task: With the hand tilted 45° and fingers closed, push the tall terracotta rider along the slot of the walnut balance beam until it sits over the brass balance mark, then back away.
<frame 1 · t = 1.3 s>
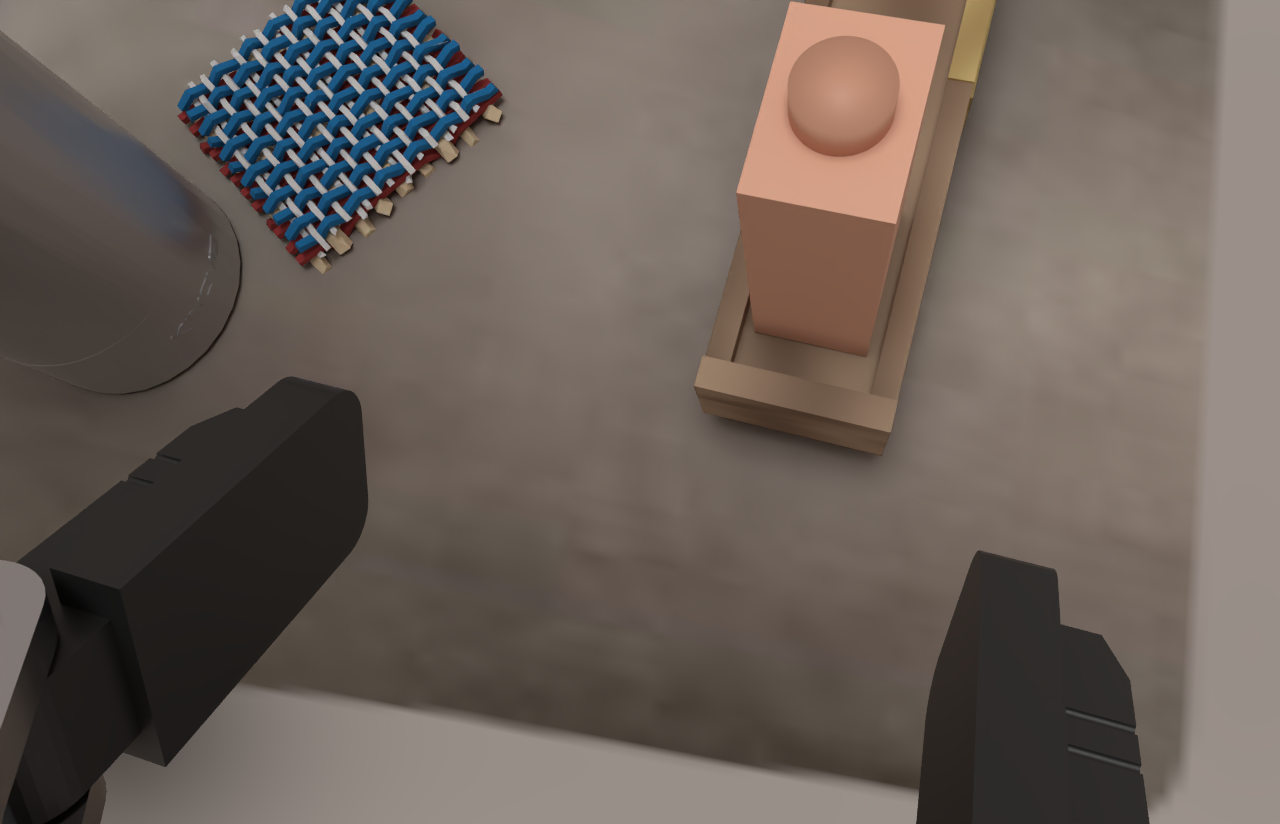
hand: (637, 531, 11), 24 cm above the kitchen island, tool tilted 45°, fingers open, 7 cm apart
beam: (894, 46, 39), on the kitchen island
woven mat: (349, 122, 43), on the kitchen island
rider: (834, 196, 28), point 10 cm above the kitchen island, slide at 0.0 cm
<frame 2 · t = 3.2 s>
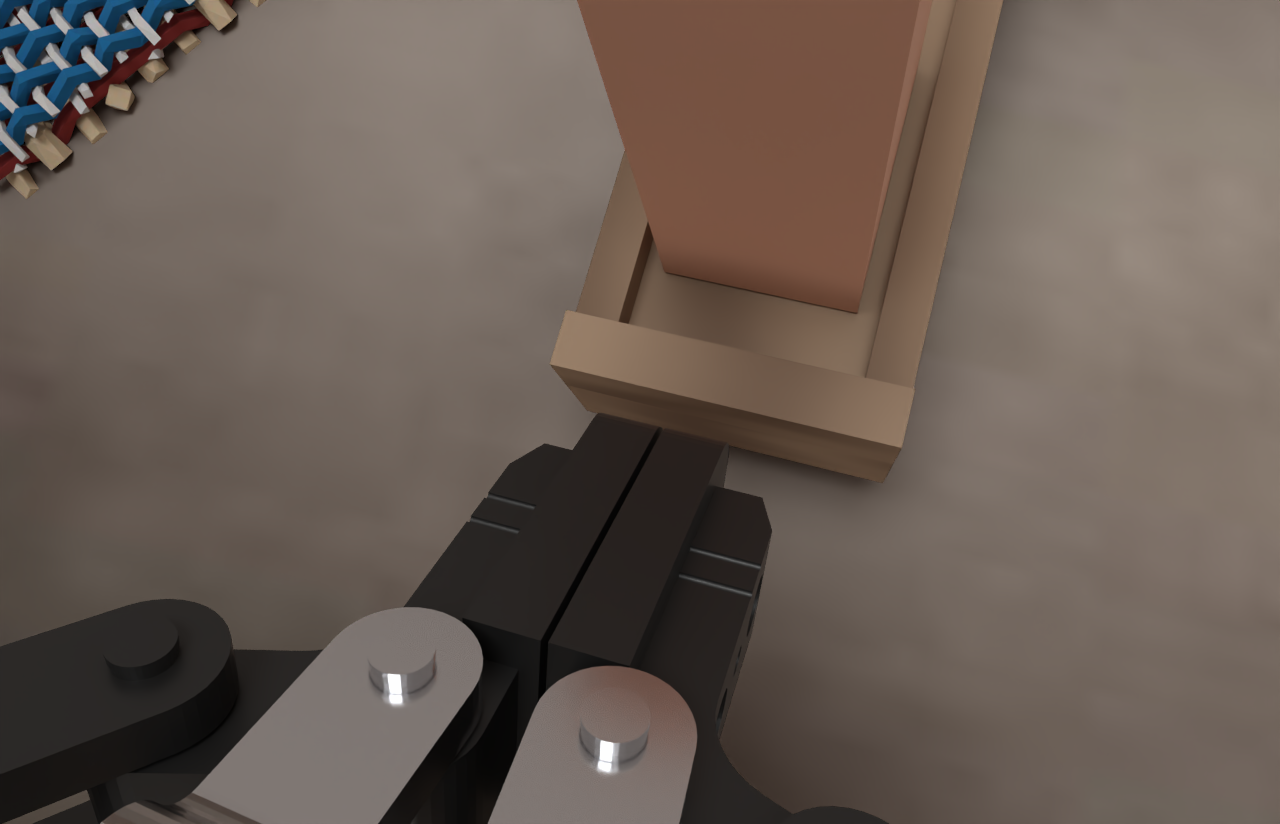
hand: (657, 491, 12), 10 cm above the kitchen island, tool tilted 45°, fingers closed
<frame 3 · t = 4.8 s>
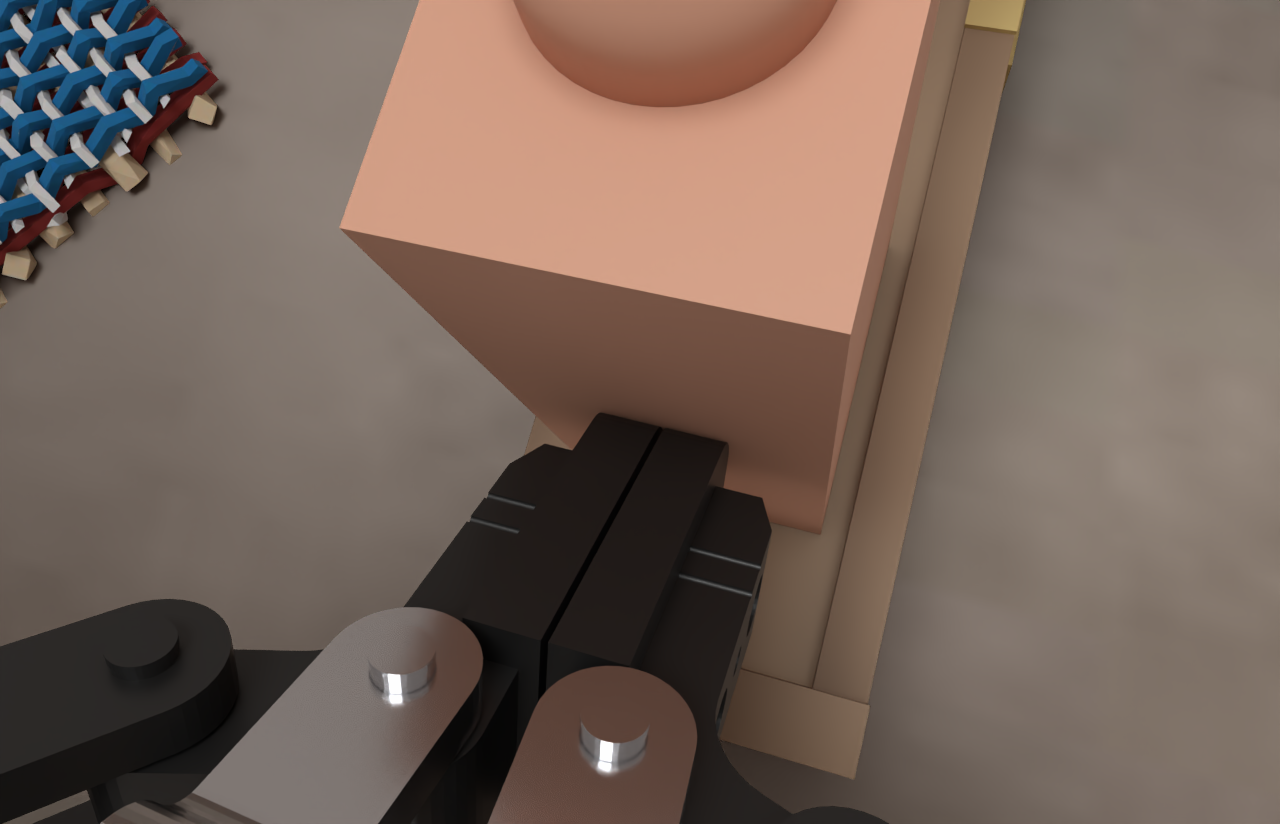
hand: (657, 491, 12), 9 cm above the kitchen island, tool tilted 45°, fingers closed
rider: (723, 221, 12), point 10 cm above the kitchen island, slide at 0.8 cm, touching gripper
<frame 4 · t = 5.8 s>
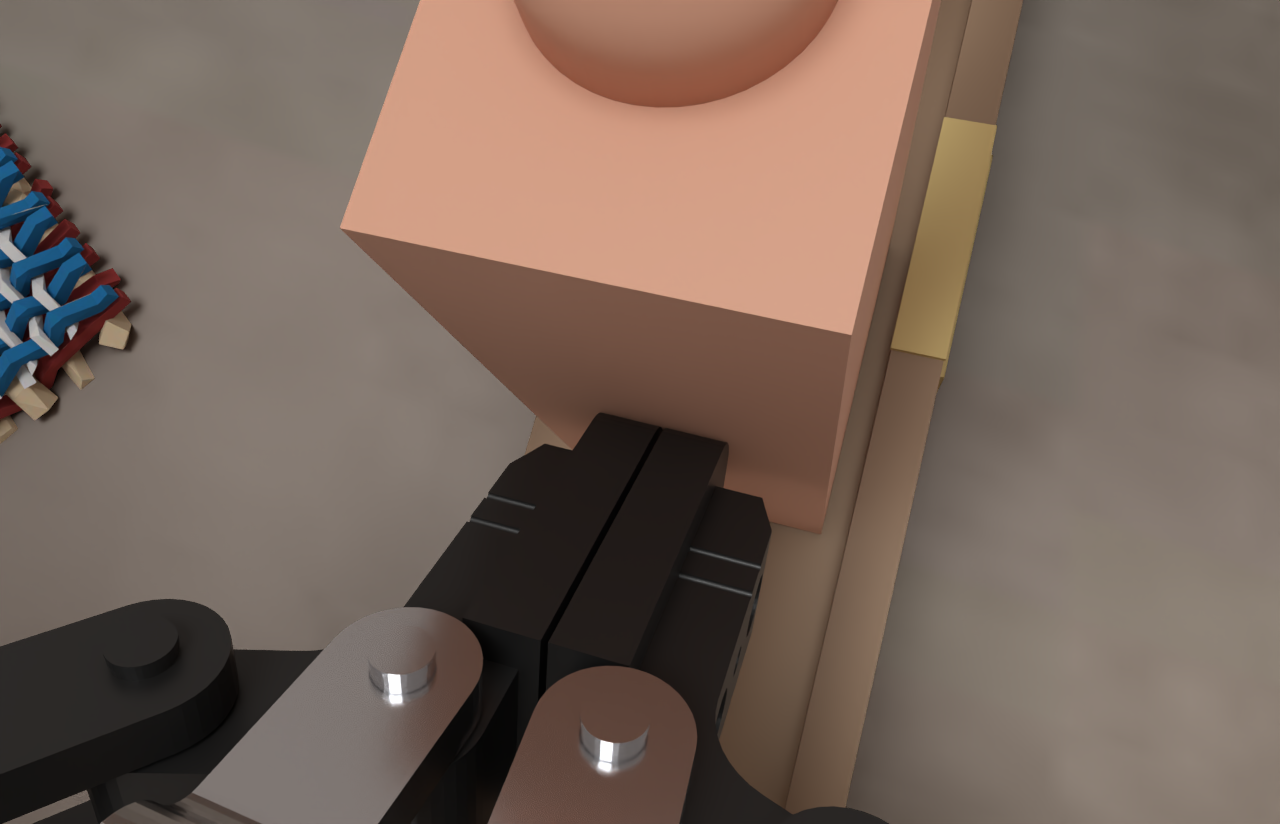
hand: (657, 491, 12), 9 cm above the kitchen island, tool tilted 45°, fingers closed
beam: (808, 219, 22), on the kitchen island
rider: (723, 221, 12), point 10 cm above the kitchen island, slide at 6.5 cm, touching gripper
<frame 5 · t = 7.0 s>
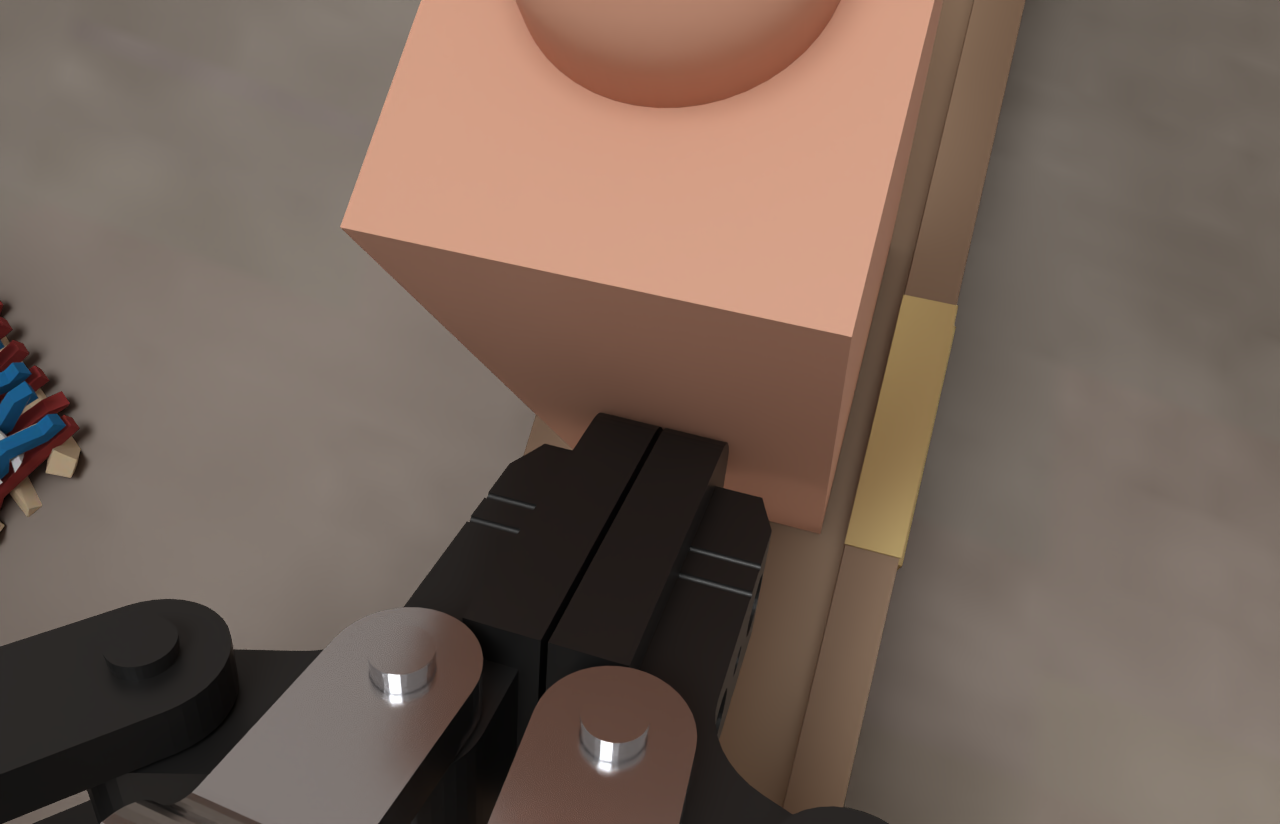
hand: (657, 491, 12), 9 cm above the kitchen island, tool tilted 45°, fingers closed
beam: (773, 355, 21), on the kitchen island
rider: (724, 220, 12), point 10 cm above the kitchen island, slide at 9.6 cm, touching gripper
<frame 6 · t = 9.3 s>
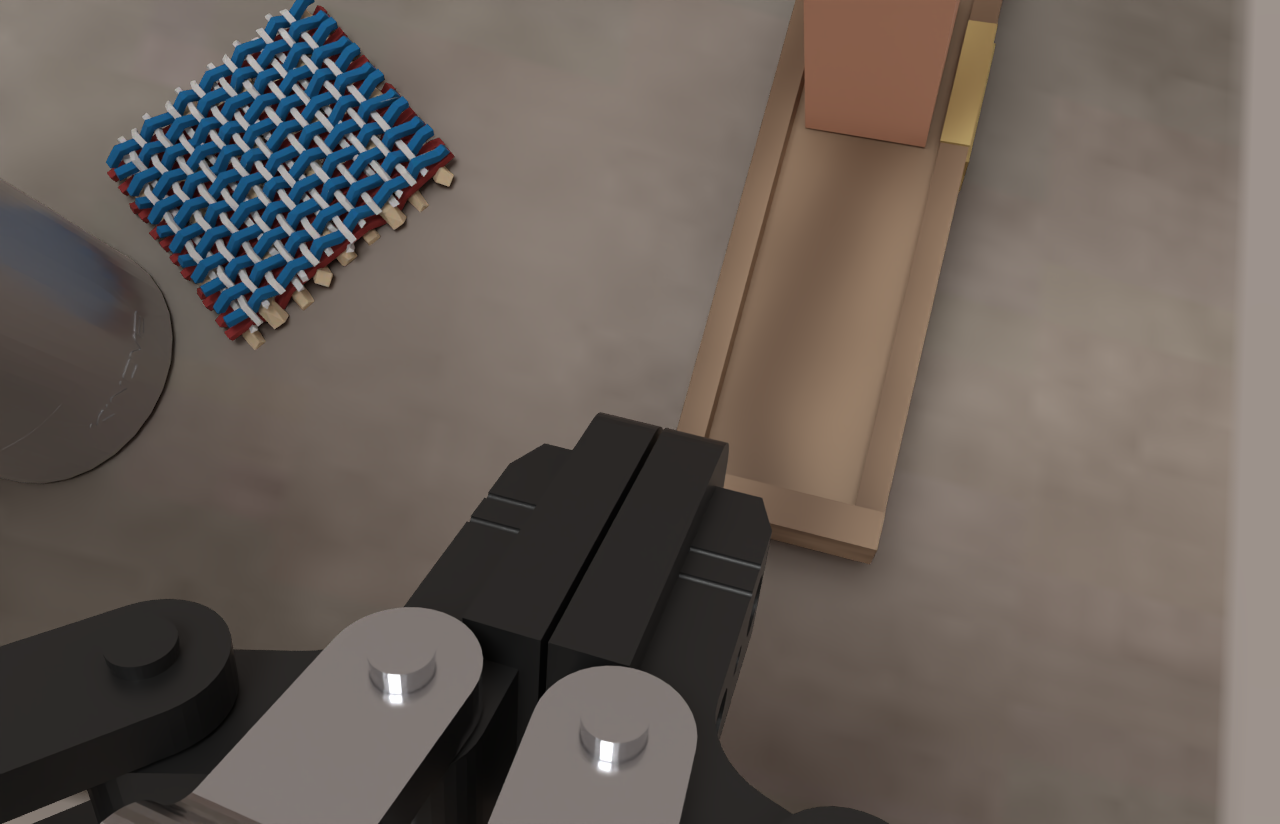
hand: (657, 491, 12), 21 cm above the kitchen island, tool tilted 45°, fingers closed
beam: (883, 98, 35), on the kitchen island
woven mat: (292, 182, 39), on the kitchen island
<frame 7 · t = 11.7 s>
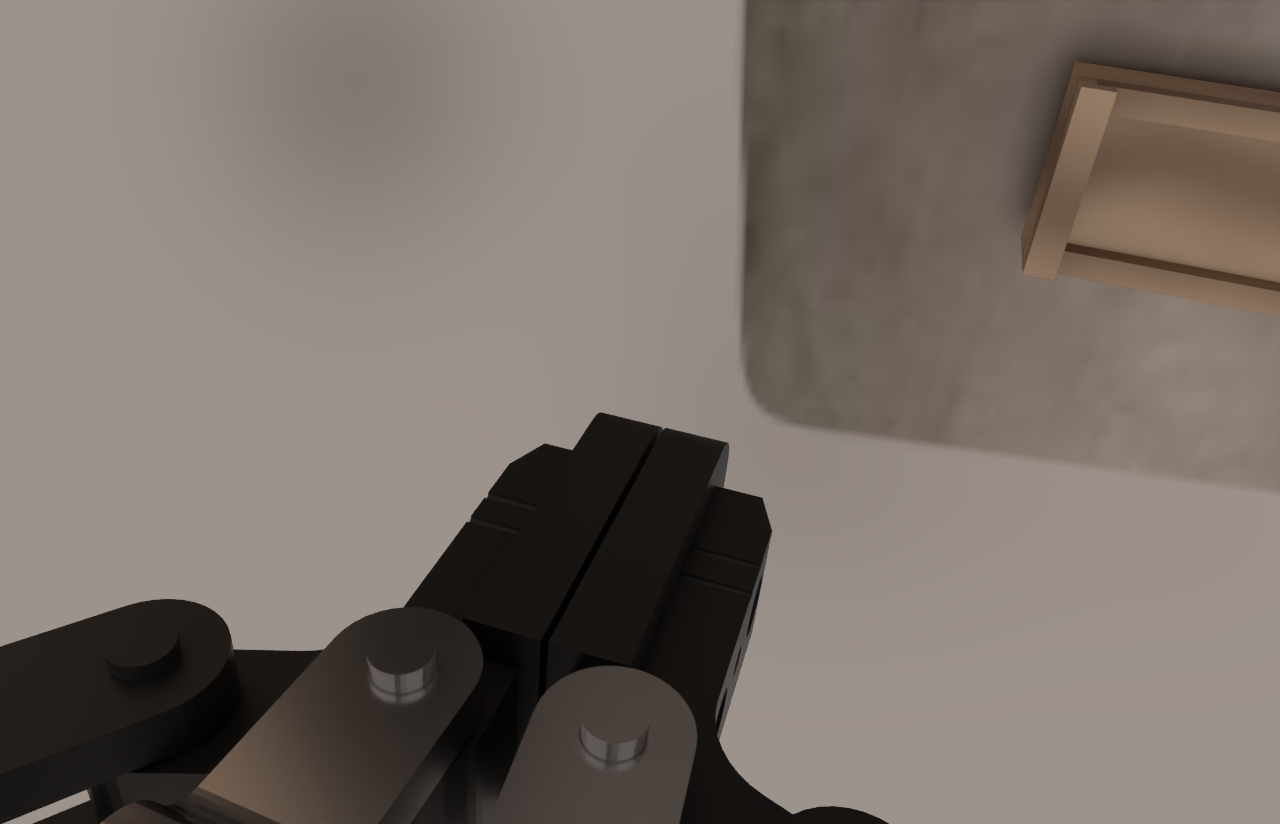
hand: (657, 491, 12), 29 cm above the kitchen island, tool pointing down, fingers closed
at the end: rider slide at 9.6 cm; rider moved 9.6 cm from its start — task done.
